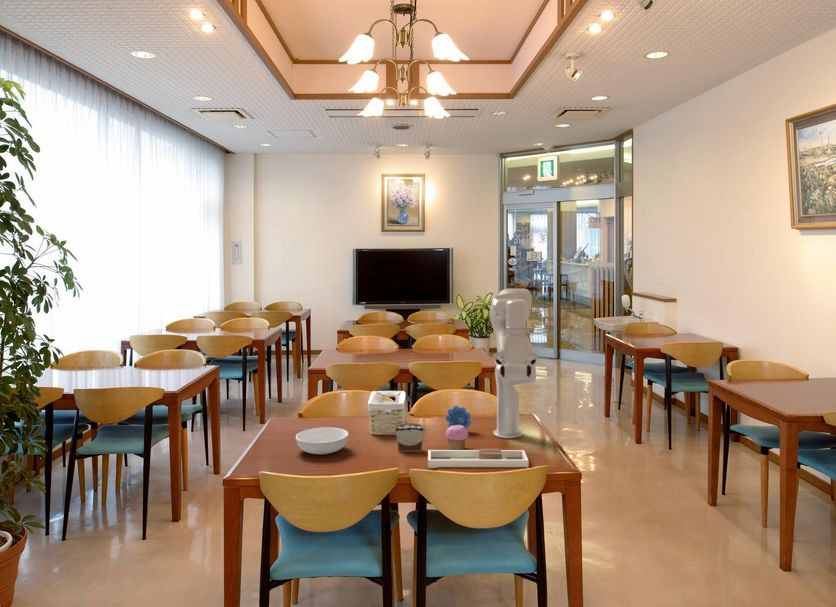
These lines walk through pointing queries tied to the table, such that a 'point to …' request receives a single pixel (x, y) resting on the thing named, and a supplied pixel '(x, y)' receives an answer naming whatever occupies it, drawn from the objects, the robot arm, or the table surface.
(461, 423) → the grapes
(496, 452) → the walnut block
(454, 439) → the cupcake
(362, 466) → the table surface
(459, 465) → the white tray
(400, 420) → the storage basket
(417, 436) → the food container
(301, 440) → the serving bowl
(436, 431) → the table surface
